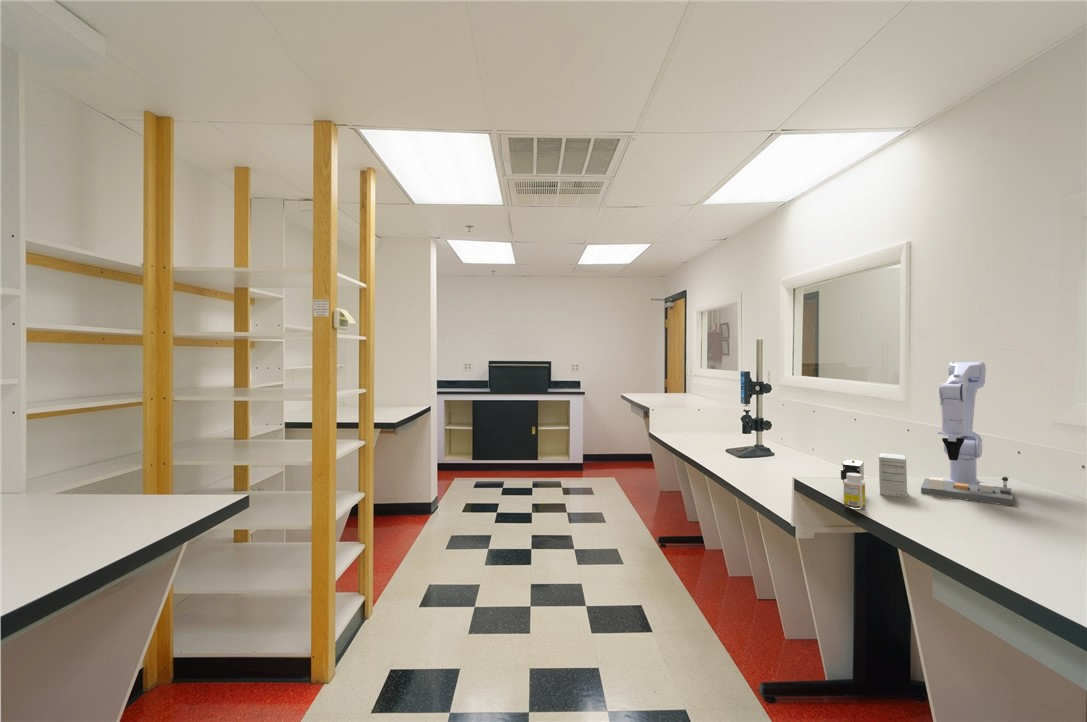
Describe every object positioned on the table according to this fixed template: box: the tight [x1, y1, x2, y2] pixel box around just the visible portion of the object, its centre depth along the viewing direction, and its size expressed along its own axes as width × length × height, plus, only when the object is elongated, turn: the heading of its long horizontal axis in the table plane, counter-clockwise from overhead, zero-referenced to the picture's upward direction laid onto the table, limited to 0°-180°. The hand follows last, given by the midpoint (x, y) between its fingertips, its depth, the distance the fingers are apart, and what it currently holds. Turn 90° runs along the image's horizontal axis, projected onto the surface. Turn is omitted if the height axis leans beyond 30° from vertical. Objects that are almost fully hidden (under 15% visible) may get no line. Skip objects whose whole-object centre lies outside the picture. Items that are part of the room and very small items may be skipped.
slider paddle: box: [928, 477, 945, 490], centre depth 160 cm, size 3×4×3 cm
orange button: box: [955, 483, 968, 490], centre depth 161 cm, size 3×3×2 cm
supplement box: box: [878, 452, 908, 498], centre depth 163 cm, size 7×7×13 cm
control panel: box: [920, 478, 1014, 506], centre depth 161 cm, size 15×22×3 cm
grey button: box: [978, 482, 994, 493], centre depth 157 cm, size 3×3×2 cm
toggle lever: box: [1001, 476, 1009, 488], centre depth 155 cm, size 2×2×3 cm
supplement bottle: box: [843, 473, 866, 508], centre depth 150 cm, size 6×6×10 cm
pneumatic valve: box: [840, 458, 865, 484], centre depth 163 cm, size 6×12×12 cm, turn 140°
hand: (953, 460), depth 164 cm, fingers closed
